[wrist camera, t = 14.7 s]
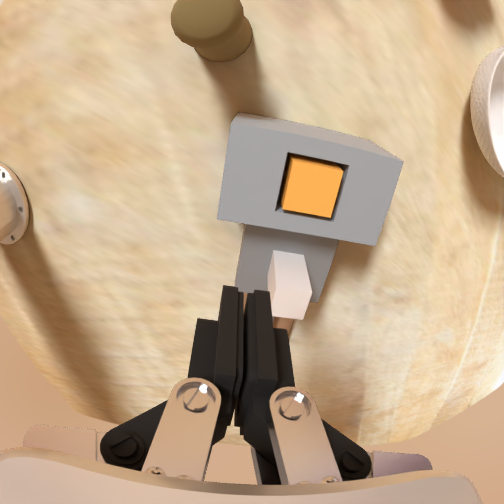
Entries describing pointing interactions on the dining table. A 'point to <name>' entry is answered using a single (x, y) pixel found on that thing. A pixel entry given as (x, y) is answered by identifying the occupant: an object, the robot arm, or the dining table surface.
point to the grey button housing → (314, 145)
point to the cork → (212, 27)
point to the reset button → (310, 185)
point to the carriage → (284, 267)
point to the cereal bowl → (489, 108)
